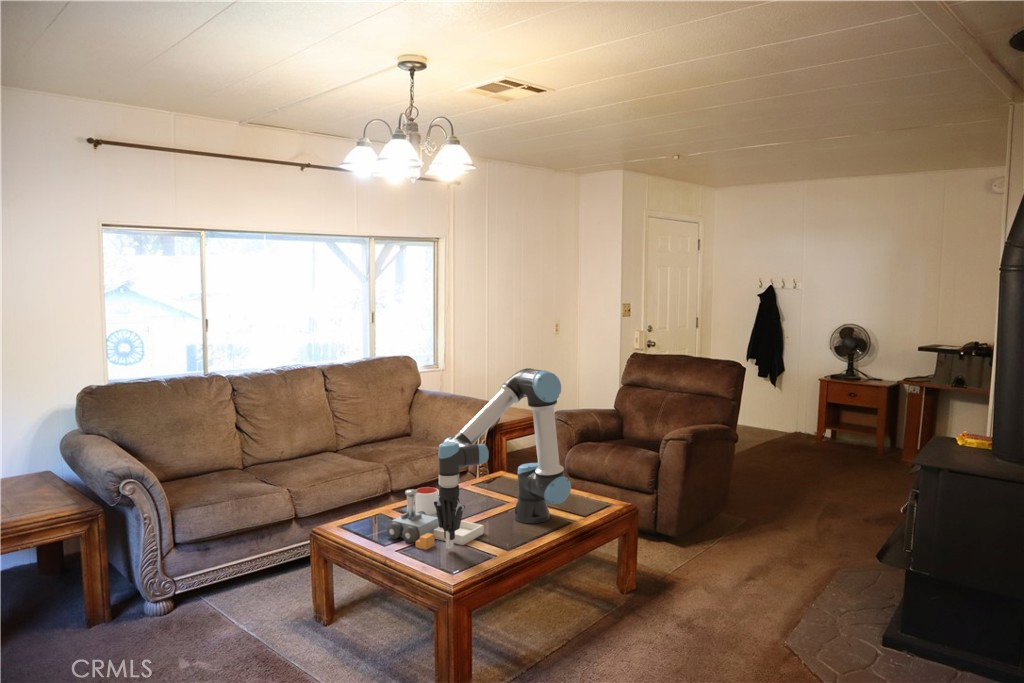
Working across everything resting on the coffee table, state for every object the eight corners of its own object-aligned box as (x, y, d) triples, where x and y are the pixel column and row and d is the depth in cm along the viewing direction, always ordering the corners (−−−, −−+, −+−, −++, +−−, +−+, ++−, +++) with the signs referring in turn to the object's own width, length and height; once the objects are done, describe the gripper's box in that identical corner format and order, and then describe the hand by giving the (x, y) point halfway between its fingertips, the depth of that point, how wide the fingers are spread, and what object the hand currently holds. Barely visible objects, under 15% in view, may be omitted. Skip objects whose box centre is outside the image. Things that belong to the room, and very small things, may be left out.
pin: (419, 517, 269) (419, 490, 268) (412, 520, 265) (411, 493, 264) (410, 515, 272) (410, 488, 271) (403, 518, 268) (402, 491, 267)
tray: (483, 533, 268) (483, 525, 268) (462, 545, 256) (462, 536, 256) (455, 527, 275) (454, 519, 275) (433, 538, 263) (433, 529, 263)
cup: (410, 515, 290) (410, 492, 289) (421, 508, 299) (421, 486, 298) (431, 518, 286) (431, 494, 286) (442, 510, 296) (442, 488, 295)
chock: (434, 545, 256) (434, 534, 255) (426, 550, 251) (426, 538, 251) (423, 543, 258) (423, 531, 258) (415, 547, 254) (415, 535, 254)
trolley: (443, 530, 272) (443, 511, 271) (413, 545, 256) (413, 525, 255) (416, 523, 279) (416, 506, 279) (385, 538, 263) (385, 519, 263)
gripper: (469, 485, 248) (470, 547, 249) (441, 479, 254) (441, 541, 256) (457, 490, 241) (458, 554, 243) (428, 484, 248) (429, 547, 250)
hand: (449, 547), depth 250 cm, fingers closed
